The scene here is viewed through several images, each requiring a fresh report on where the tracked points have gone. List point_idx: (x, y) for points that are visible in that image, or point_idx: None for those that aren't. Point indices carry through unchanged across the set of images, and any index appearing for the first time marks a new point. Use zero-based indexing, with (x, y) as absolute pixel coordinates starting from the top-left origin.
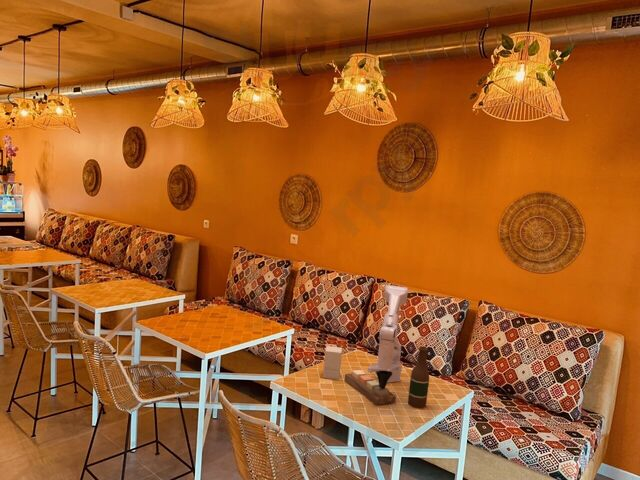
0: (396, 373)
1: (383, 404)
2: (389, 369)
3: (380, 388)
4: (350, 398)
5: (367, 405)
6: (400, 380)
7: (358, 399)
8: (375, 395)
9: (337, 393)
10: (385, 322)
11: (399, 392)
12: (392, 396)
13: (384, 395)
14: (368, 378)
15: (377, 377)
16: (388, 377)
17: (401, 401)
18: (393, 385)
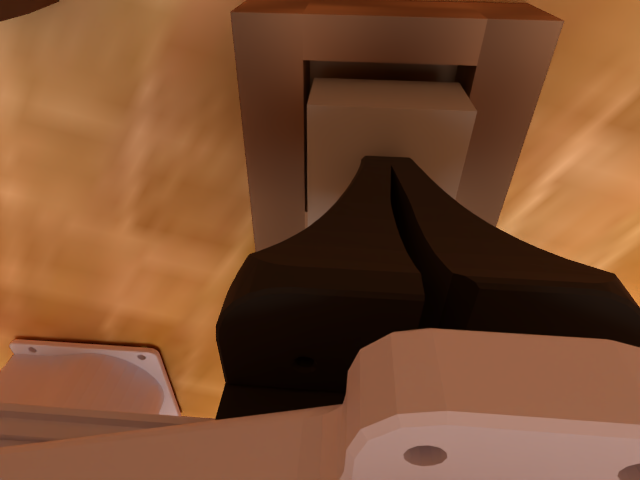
0: (21, 399)
1: (428, 1)
2: (558, 459)
3: None
4: (620, 234)
5: (614, 55)
6: (16, 342)
7: (570, 200)
8: (497, 125)
9: None
10: None
11: (90, 207)
12: (285, 27)
13: (386, 84)
14: None
15: (174, 402)
16: (347, 235)
17: (146, 28)
18: (98, 308)
